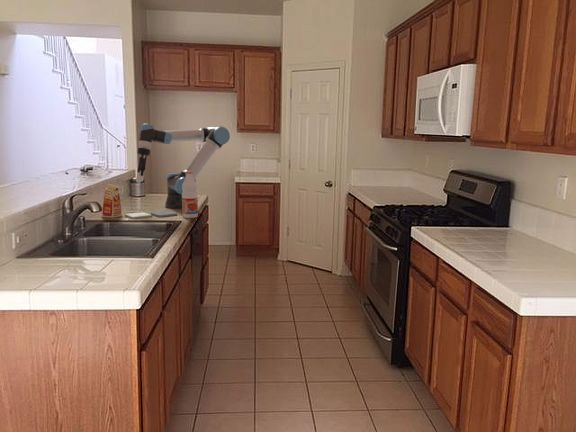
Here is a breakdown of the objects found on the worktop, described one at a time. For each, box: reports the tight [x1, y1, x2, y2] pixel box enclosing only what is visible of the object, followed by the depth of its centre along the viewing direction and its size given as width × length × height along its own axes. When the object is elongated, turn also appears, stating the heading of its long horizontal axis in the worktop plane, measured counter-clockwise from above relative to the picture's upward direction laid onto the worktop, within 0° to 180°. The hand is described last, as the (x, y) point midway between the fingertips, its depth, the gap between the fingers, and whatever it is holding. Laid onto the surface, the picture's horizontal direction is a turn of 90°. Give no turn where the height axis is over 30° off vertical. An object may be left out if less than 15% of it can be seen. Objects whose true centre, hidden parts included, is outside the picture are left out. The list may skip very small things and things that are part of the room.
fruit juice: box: [181, 171, 199, 219], centre depth 297 cm, size 9×9×28 cm
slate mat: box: [150, 210, 178, 218], centre depth 304 cm, size 12×12×1 cm
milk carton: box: [101, 183, 123, 218], centre depth 296 cm, size 9×9×20 cm
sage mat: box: [124, 211, 153, 220], centre depth 298 cm, size 12×12×1 cm
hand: (139, 181), depth 304 cm, fingers open, 13 cm apart
